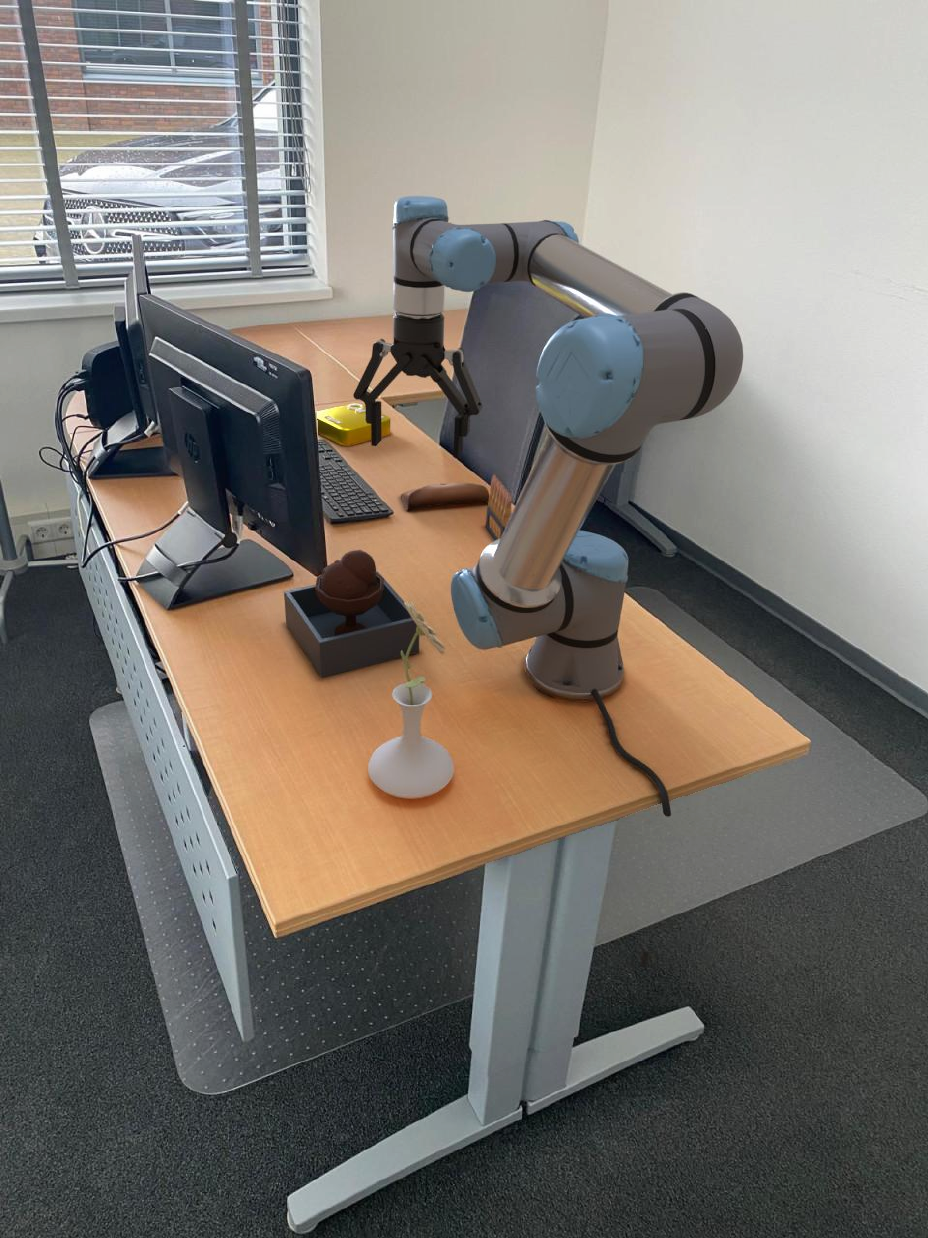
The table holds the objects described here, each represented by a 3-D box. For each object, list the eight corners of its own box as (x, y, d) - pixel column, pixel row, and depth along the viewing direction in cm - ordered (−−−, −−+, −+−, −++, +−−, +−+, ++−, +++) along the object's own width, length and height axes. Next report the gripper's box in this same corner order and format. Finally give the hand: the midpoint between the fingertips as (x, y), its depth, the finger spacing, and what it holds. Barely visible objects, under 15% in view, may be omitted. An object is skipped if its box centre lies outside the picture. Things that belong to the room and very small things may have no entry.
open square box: (419, 652, 146) (419, 618, 142) (321, 678, 139) (319, 642, 136) (377, 603, 158) (377, 571, 155) (286, 624, 151) (283, 591, 148)
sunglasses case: (477, 486, 201) (483, 468, 195) (485, 513, 198) (491, 495, 192) (398, 494, 196) (402, 475, 190) (404, 521, 193) (409, 503, 187)
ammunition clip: (511, 550, 177) (515, 494, 171) (502, 551, 177) (506, 494, 170) (493, 526, 186) (497, 471, 179) (485, 527, 185) (488, 472, 179)
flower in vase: (456, 806, 117) (465, 644, 104) (367, 808, 116) (364, 645, 103) (450, 740, 128) (457, 587, 115) (368, 741, 127) (366, 587, 114)
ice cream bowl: (359, 608, 155) (357, 529, 147) (397, 638, 147) (398, 556, 139) (305, 628, 149) (300, 547, 141) (342, 660, 142) (339, 576, 134)
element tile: (309, 429, 227) (308, 411, 224) (357, 417, 236) (357, 399, 233) (345, 447, 218) (344, 428, 215) (393, 434, 227) (393, 416, 224)
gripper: (507, 315, 134) (498, 451, 145) (348, 298, 139) (351, 430, 150) (495, 327, 128) (487, 468, 139) (329, 309, 133) (334, 446, 144)
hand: (416, 449), depth 145 cm, fingers open, 13 cm apart
